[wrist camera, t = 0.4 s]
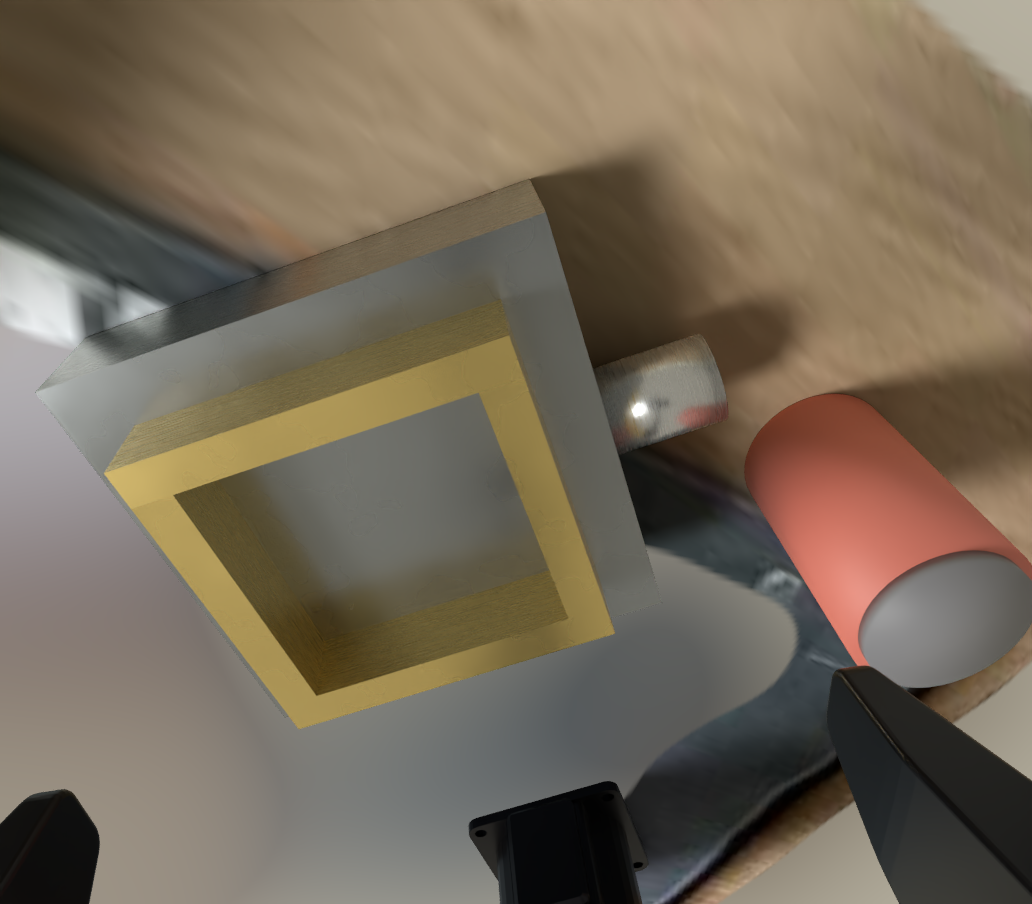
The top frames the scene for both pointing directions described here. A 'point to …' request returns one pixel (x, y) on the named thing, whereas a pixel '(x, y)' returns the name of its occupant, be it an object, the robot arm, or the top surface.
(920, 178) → the top surface
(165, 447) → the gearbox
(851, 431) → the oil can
